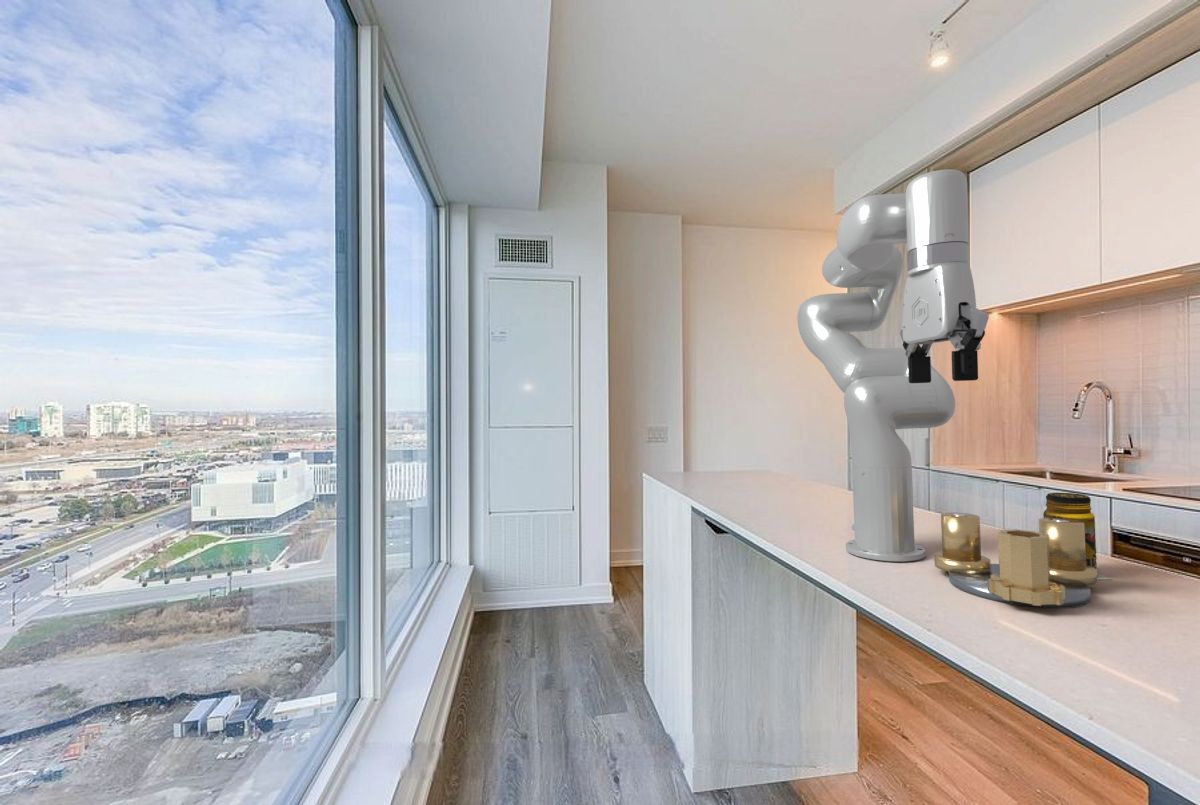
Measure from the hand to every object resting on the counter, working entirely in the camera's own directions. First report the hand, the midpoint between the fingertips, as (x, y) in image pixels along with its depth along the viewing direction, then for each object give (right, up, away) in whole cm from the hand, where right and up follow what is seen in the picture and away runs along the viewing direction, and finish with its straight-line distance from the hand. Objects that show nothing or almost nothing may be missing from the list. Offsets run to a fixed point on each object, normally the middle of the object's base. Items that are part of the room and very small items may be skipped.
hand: (941, 381), depth 78 cm
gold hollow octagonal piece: (+7, -28, -7) cm, 30 cm away
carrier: (+12, -29, +1) cm, 32 cm away
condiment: (+23, -29, +6) cm, 38 cm away
